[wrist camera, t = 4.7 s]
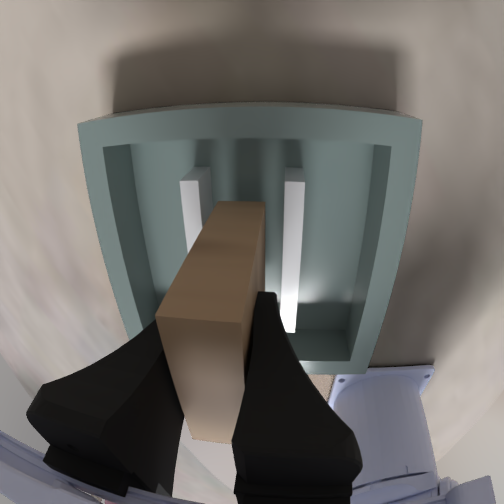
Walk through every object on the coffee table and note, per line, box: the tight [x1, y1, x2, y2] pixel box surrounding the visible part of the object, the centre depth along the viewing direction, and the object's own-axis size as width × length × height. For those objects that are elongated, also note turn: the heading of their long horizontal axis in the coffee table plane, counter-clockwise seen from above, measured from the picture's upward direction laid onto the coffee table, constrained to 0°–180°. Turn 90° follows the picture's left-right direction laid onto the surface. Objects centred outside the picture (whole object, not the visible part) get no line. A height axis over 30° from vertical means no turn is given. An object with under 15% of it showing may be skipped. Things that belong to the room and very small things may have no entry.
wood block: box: [155, 201, 265, 444], centre depth 12 cm, size 6×2×8 cm, turn 1°
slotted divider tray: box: [77, 102, 422, 375], centre depth 16 cm, size 14×14×3 cm
